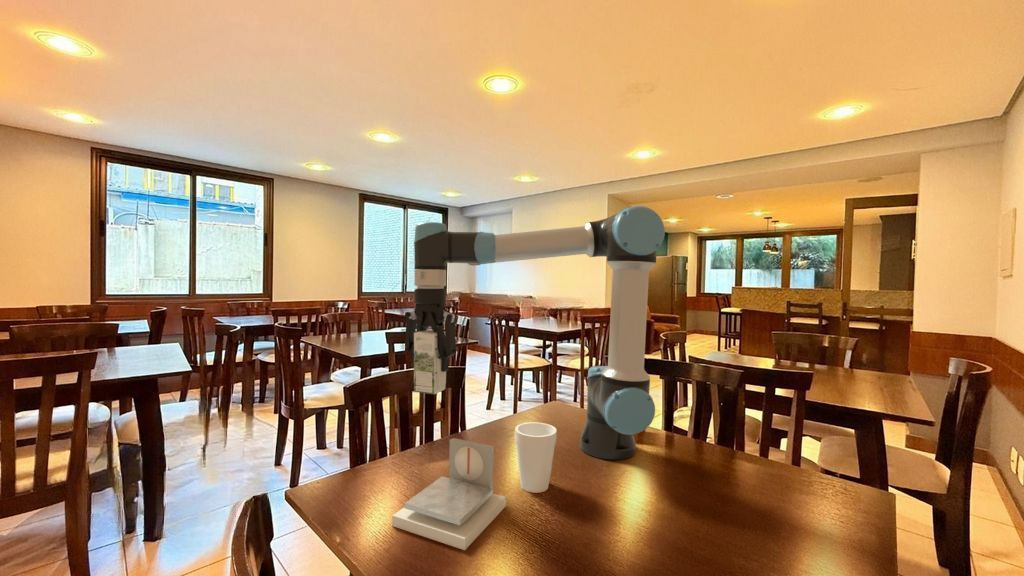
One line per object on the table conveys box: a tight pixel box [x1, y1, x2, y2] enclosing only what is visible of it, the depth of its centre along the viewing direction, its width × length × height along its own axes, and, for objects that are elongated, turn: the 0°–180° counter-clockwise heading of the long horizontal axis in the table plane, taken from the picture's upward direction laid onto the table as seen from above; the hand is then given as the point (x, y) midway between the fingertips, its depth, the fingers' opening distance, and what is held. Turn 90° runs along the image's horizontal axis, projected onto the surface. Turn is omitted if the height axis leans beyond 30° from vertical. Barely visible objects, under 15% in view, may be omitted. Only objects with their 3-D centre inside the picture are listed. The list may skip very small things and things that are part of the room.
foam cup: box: [514, 421, 558, 494], centre depth 98 cm, size 10×9×13 cm
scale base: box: [391, 437, 507, 551], centre depth 85 cm, size 16×16×12 cm
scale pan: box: [404, 476, 494, 525], centre depth 84 cm, size 12×12×1 cm
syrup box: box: [413, 329, 446, 395], centre depth 104 cm, size 6×6×14 cm
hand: (429, 382), depth 104 cm, fingers closed on syrup box, 6 cm apart
